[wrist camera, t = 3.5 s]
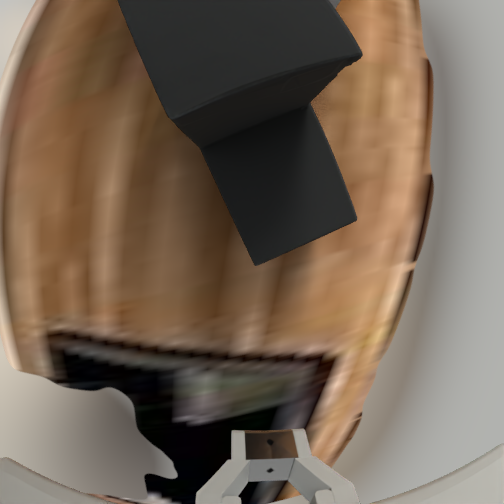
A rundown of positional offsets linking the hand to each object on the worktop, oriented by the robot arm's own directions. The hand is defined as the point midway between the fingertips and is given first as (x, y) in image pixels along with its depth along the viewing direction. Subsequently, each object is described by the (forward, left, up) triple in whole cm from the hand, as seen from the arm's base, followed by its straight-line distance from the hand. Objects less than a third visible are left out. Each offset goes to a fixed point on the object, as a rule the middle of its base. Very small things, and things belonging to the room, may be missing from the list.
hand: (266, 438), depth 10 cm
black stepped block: (-15, 0, -24) cm, 28 cm away
